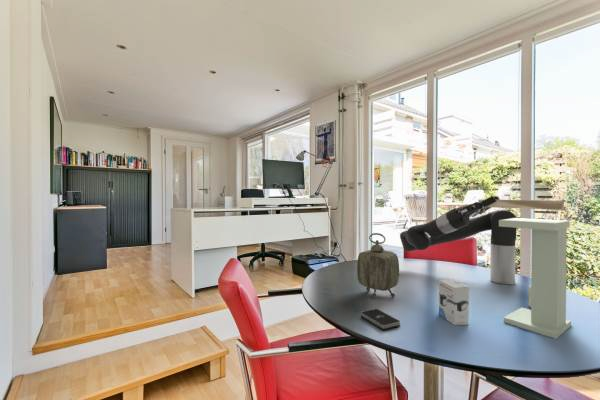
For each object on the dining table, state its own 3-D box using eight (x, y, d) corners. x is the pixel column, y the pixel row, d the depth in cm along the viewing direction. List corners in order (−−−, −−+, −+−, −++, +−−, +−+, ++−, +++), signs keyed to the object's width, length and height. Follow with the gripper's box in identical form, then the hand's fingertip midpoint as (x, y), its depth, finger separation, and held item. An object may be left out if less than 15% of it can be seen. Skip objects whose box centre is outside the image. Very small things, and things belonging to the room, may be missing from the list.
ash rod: (481, 206, 101) (481, 199, 101) (563, 209, 82) (563, 200, 82) (478, 206, 99) (478, 199, 99) (560, 209, 81) (561, 200, 81)
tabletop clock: (399, 297, 110) (399, 233, 110) (388, 304, 103) (388, 236, 103) (366, 289, 120) (366, 230, 119) (354, 294, 113) (354, 232, 113)
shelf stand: (516, 310, 97) (516, 217, 97) (571, 325, 86) (572, 220, 85) (498, 320, 89) (498, 220, 89) (555, 338, 78) (556, 223, 77)
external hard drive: (376, 314, 95) (376, 308, 95) (401, 328, 85) (401, 321, 85) (360, 318, 92) (360, 312, 92) (383, 332, 82) (383, 326, 82)
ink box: (438, 314, 95) (438, 279, 94) (452, 313, 95) (452, 278, 95) (454, 325, 86) (454, 287, 86) (469, 325, 86) (469, 286, 86)
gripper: (466, 228, 111) (511, 207, 98) (447, 230, 103) (493, 208, 90) (456, 211, 114) (499, 189, 101) (437, 212, 106) (480, 188, 93)
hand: (496, 198), depth 96 cm, fingers closed on ash rod, 2 cm apart
